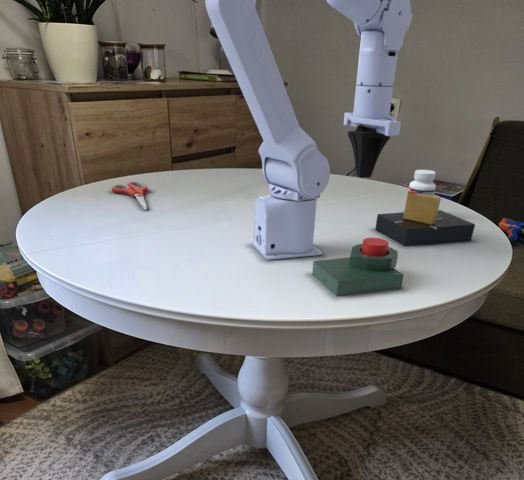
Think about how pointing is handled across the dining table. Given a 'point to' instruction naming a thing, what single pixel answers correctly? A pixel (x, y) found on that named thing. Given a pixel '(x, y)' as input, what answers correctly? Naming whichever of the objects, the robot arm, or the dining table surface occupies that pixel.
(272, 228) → the robot arm
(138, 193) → the scissors
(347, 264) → the button box
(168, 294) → the dining table surface
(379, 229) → the dark gray flat block
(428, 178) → the pill bottle
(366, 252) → the button
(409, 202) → the tan wooden brick
